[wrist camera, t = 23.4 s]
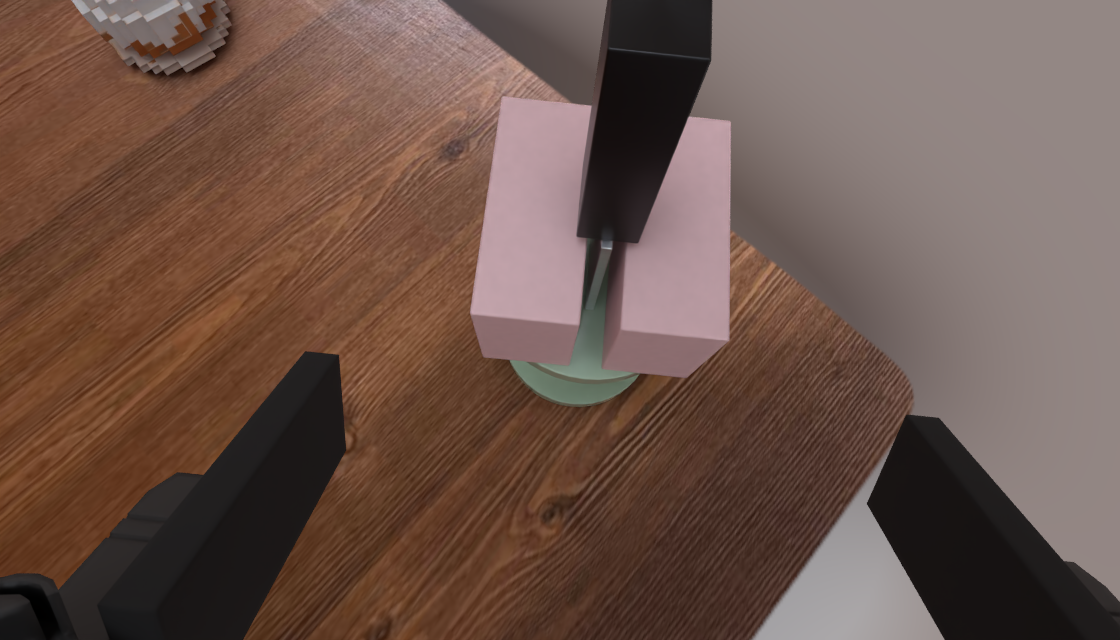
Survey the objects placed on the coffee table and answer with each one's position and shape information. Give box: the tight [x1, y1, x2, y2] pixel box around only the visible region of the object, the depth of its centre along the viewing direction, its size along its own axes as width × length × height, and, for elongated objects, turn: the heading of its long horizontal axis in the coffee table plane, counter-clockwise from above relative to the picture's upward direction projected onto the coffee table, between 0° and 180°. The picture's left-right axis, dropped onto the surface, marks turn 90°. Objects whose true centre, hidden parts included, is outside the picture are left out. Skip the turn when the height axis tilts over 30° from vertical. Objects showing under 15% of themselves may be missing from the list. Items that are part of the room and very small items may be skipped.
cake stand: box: [509, 238, 641, 407], centre depth 33 cm, size 10×10×10 cm
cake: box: [470, 96, 731, 378], centre depth 25 cm, size 9×9×6 cm
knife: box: [576, 0, 712, 310], centre depth 20 cm, size 2×4×16 cm, turn 175°
